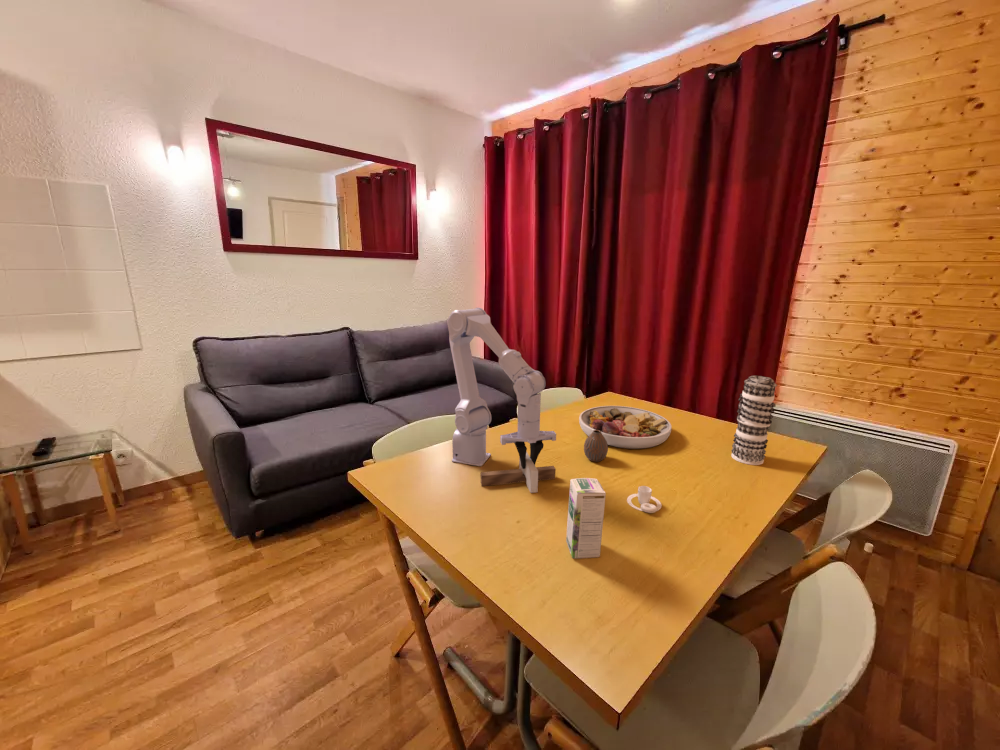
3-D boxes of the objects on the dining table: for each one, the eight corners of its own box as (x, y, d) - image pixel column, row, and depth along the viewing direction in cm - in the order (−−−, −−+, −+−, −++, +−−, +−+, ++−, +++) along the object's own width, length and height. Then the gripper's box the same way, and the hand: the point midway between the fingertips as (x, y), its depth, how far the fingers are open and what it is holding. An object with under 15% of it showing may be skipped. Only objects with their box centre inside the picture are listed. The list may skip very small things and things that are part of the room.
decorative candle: (722, 454, 126) (734, 375, 119) (745, 450, 129) (759, 372, 122) (748, 467, 118) (762, 383, 111) (772, 463, 120) (788, 380, 114)
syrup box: (565, 540, 86) (568, 478, 82) (592, 539, 86) (597, 476, 83) (572, 559, 80) (575, 493, 77) (601, 557, 81) (606, 491, 77)
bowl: (598, 412, 162) (600, 393, 160) (679, 430, 145) (682, 409, 143) (563, 437, 138) (564, 415, 136) (655, 461, 121) (658, 437, 119)
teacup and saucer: (657, 519, 94) (659, 503, 93) (622, 509, 98) (623, 494, 97) (663, 500, 102) (665, 486, 100) (630, 492, 105) (632, 477, 104)
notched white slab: (519, 470, 115) (519, 450, 114) (525, 469, 116) (525, 450, 114) (530, 492, 104) (531, 471, 102) (537, 492, 104) (538, 470, 103)
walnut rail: (481, 486, 107) (481, 475, 106) (480, 482, 109) (480, 472, 108) (555, 478, 111) (555, 468, 110) (553, 475, 113) (553, 465, 112)
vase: (607, 465, 119) (609, 437, 116) (583, 462, 120) (584, 435, 118) (606, 454, 125) (608, 427, 123) (583, 452, 127) (585, 426, 124)
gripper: (504, 426, 101) (504, 476, 104) (560, 422, 103) (558, 471, 107) (498, 416, 107) (498, 463, 111) (552, 412, 110) (550, 459, 114)
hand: (527, 466), depth 109 cm, fingers closed on notched white slab, 2 cm apart
